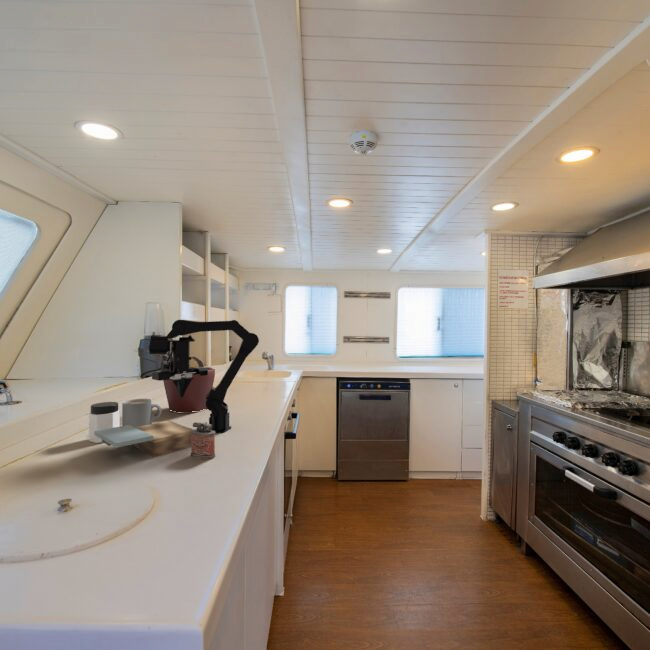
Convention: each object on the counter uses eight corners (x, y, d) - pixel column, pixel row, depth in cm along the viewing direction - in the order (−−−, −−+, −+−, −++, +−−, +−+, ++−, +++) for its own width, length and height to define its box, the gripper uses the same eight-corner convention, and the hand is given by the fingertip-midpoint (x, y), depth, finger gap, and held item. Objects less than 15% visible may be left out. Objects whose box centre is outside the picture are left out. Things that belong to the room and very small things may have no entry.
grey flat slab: (129, 425, 116) (94, 430, 109) (153, 435, 104) (116, 443, 97) (128, 431, 116) (94, 437, 109) (153, 442, 104) (115, 450, 97)
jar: (88, 444, 115) (88, 408, 116) (89, 438, 122) (89, 403, 122) (120, 439, 120) (120, 404, 120) (118, 433, 127) (118, 400, 127)
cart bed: (168, 434, 126) (168, 420, 126) (194, 445, 115) (194, 429, 115) (129, 443, 116) (130, 428, 116) (154, 456, 105) (154, 439, 105)
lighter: (217, 456, 105) (217, 422, 105) (210, 460, 102) (210, 425, 102) (195, 453, 108) (195, 420, 108) (187, 456, 104) (187, 423, 105)
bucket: (188, 417, 151) (188, 358, 151) (149, 413, 159) (149, 357, 159) (224, 405, 173) (223, 354, 174) (188, 402, 181) (188, 353, 182)
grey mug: (119, 431, 130) (119, 404, 130) (125, 424, 139) (125, 399, 139) (159, 428, 134) (159, 402, 134) (162, 421, 144) (162, 397, 144)
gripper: (193, 351, 141) (193, 391, 141) (145, 354, 126) (145, 398, 126) (209, 353, 133) (209, 394, 133) (159, 356, 119) (159, 402, 119)
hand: (181, 397), depth 128 cm, fingers closed
